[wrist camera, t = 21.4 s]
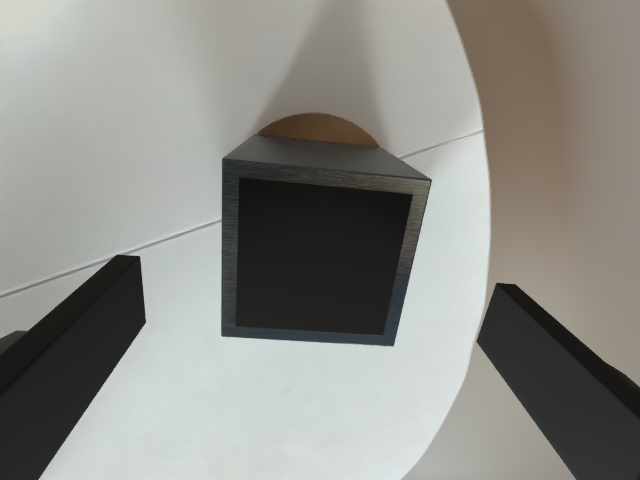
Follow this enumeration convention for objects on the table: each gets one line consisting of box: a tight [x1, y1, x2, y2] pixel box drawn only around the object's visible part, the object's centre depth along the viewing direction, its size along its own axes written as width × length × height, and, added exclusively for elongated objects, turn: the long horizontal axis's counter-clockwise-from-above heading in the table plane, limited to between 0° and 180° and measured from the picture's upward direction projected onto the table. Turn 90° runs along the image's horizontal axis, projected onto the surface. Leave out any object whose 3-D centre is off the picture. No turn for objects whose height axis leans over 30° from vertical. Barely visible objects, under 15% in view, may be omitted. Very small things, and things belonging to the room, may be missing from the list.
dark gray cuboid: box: [221, 134, 432, 347], centre depth 24 cm, size 12×10×10 cm
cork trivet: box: [257, 113, 380, 147], centre depth 30 cm, size 14×14×1 cm
